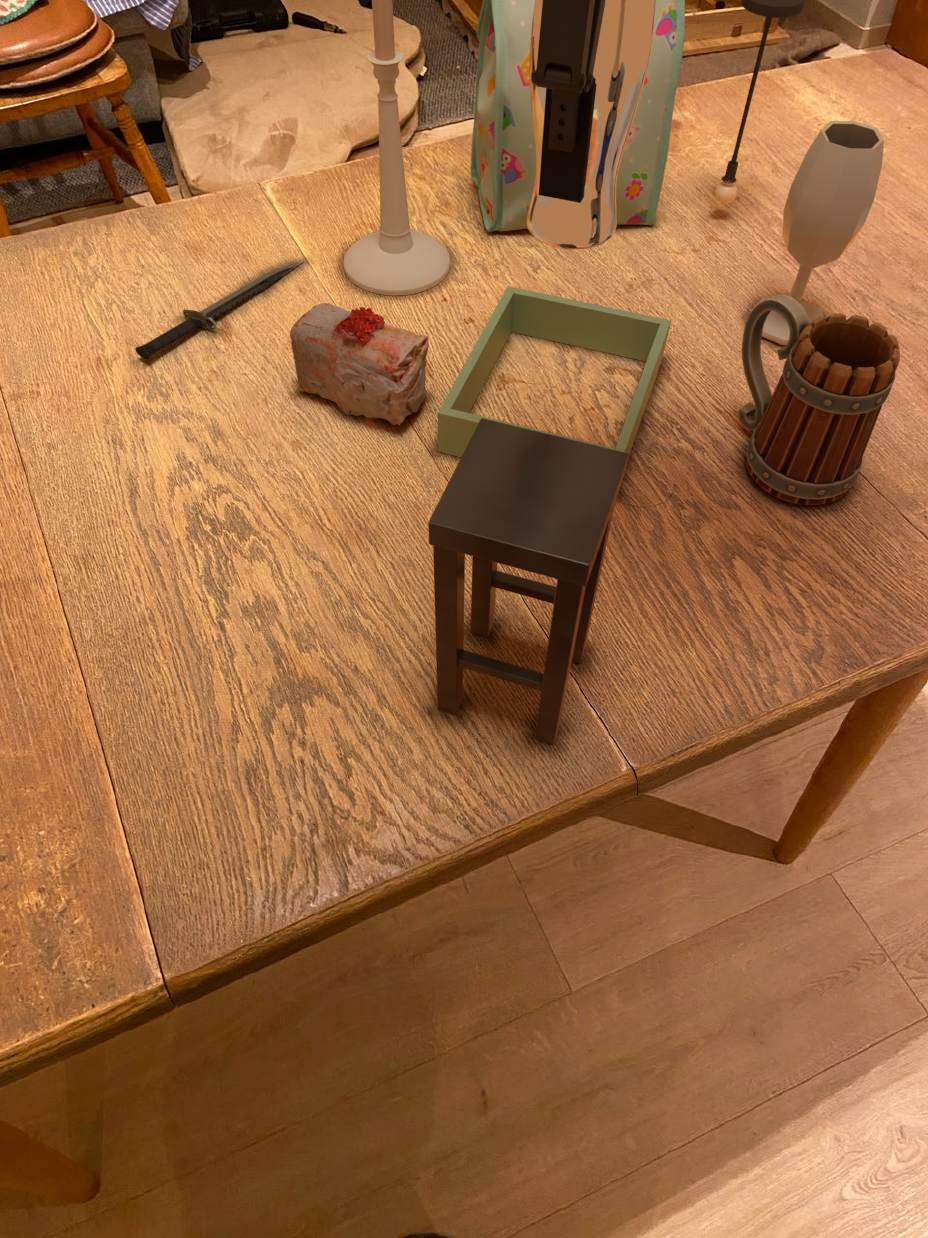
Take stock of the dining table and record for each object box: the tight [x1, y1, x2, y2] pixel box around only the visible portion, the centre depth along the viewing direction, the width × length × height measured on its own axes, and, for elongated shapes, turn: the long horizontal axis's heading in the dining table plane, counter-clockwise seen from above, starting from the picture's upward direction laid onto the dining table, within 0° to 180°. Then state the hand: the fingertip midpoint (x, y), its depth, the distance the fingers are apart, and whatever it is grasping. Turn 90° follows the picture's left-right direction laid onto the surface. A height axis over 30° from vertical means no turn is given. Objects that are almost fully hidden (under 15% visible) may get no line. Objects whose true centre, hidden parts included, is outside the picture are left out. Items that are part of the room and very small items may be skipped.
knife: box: [135, 261, 304, 360], centre depth 102 cm, size 25×2×5 cm
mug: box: [737, 293, 901, 506], centre depth 83 cm, size 16×11×15 cm
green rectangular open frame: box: [437, 285, 672, 458], centre depth 91 cm, size 18×22×5 cm
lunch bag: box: [470, 0, 686, 233], centre depth 106 cm, size 23×16×27 cm
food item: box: [289, 302, 430, 426], centre depth 90 cm, size 14×8×10 cm, turn 64°
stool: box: [427, 418, 629, 745], centre depth 64 cm, size 10×10×22 cm
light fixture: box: [714, 0, 808, 205], centre depth 105 cm, size 7×7×25 cm
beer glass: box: [527, 0, 656, 250], centre depth 55 cm, size 7×7×15 cm
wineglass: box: [748, 120, 885, 346], centre depth 93 cm, size 9×9×21 cm
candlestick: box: [343, 0, 451, 296], centre depth 96 cm, size 13×13×30 cm
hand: (578, 166), depth 58 cm, fingers closed on beer glass, 7 cm apart
